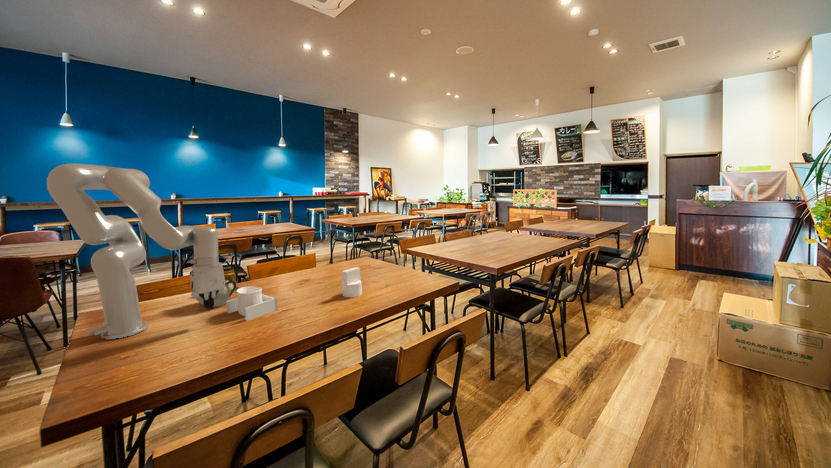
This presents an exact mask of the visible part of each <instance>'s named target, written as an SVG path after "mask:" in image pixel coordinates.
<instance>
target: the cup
mask: <svg viewBox="0 0 831 468" xmlns="http://www.w3.org/2000/svg"><path fill="white" fill-rule="evenodd" d="M262 290H263V288H262V286H258V285H257V286H255V285H254V286H253V285H251V286H250V285H249V286H242V287H239V289H238V290H237V291H236V292H235V293H236V298H237V299H238V302H237V306H238V310H237V312H238V314H239V315H240V316H243V317H245V311H244V308H246V307H249V306H252V305H255V304H259V303H262V302H263V301H262V294H263V292H262Z"/></svg>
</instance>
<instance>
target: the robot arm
mask: <svg viewBox="0 0 831 468" xmlns="http://www.w3.org/2000/svg"><path fill="white" fill-rule="evenodd" d="M47 175H48V176H47V178H46V188H47V191H48V193H49V195H50V197H51V198H52V199H53V200H54V202H55V203H56V204H57V205H58V207H59V208H60V209H61V210H62V212H63V213H64V215H65V217H66V218H67V220H68V222H69V223H70V224H71V226H72V228H73V229H74V231H75V232H76V234H77V235H78V237H79V238H80V240H81V241H82V242H83V243H85V244H87V245H91V246H98V245H103V244H109V245H108V246H105V247H102V248H100V249H98V250H96V251H95V252H94V253H93V254H92V256H91V259H90V266H91V268H92V271H93V273H94V275H95V277H96V281H97V285H98V290H99V294H100V300H101V306H102V312H103V317H104V318H103V319H104V322H103V323H102V325H100V326H99V327H95V328H91V329H88V330H86V334H87V336H88V337H90V336H93V335H94V336H99V335H100V337H101V339H103V338H105V339H104V340H117V339H116V338H119V339H123V337H124V338H128V337H131V336H134V335H137V334H139V332H140V333H141V331H142V332H143V330H144V331H145V330H146V329H148V326H149V324H148V323H147V322H146V321H143V320H142V316H141V315H142V314H141V308H140V302H139V301H140V300H139V295H138V289H137V283H136V279H135V277H134V276H133V273H132V272H131V270H130V269H131V268H134V267H137V266H139V265H141V264H142V263H143V262H145V259H146V258H147V252H146V251H147V250H146V248H145V246H144V244H143V242H142V241H141V239H140V238H139V236H138V235H137V233H136V231H135V230H134V227H133V226H132V225H131V224H130V222H129V221H127V220H126V219H125V218H123V216H122V217H121V216H119V215H116V214H115V215H114V214H109V215H105V214H104V213H103V211H102V210H101V208H100V206H99V205H98V203H97V202H96V201H95V200H94V198H92V197H91V196H90V195H88V194H87V193H86V192H85V190H86V191H88V190H89V191H90V190H91V191H92V190H94V191H95V190H105V191H110V192H112V193H113V195H114V196H116V197H117V198H118V199H119V200H120V201H122V203H124V204H125V205H126V206H127V207H128V208H129V209H130V210H131V211H132V212H134V213H135V214H136V216H137V217H138V222H139V223H140V226H141V227H142V229H143V231H144V232H145V234H147V235H148V236H149V237H150V238H151V239H152V240H153V241H154V242H156V243H157V244H158V245H159V246H161V247H162V248H164V249H167V250H169V251H179V250H180V249H183V248H186V247H190V246H193V259H190V260H189V263H190V264H193V265H192V267H191V273H190V290H191V297H193V298H195V297H201V298H203V304H204V306H203V308H205V310H207V311H210V310H213V309H214V307H213V306H214V298H215V296H216V295H217V293H218V292H220V291H223V290H224V287H225V277H224V271H223V268H224V267H223V264H222V262H219V261H220V259H219V257H220V256H219V237H218V232H219V231H218V229H217V228H216V227H213V226H201V227H200V226H193V225H181V226H176V227H174V226H173V225H172V224H171V223H170V222H168V221H167V219H165V217H164V216H163V215H162V212H161V211H160V210H161V209H160V208H161V205H162V200H161V199H162V198H160V197H159V196H158V195H157V194H155V192H153V191H152V190H151V189H150V186H151V180H150V179H149V177H148V175H147V174H146V173H144V172H143V171H141V170H139V169H135V168H125V167H124V168H122V167H113V166H107V165H97V164H86V163H85V164H84V163H65V164H60V165H57V166H56V167H54V168H53V169H52V170H51V171H50V172H49V174H47ZM207 292H209V296H208V293H207ZM127 336H128V337H127Z"/></svg>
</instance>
